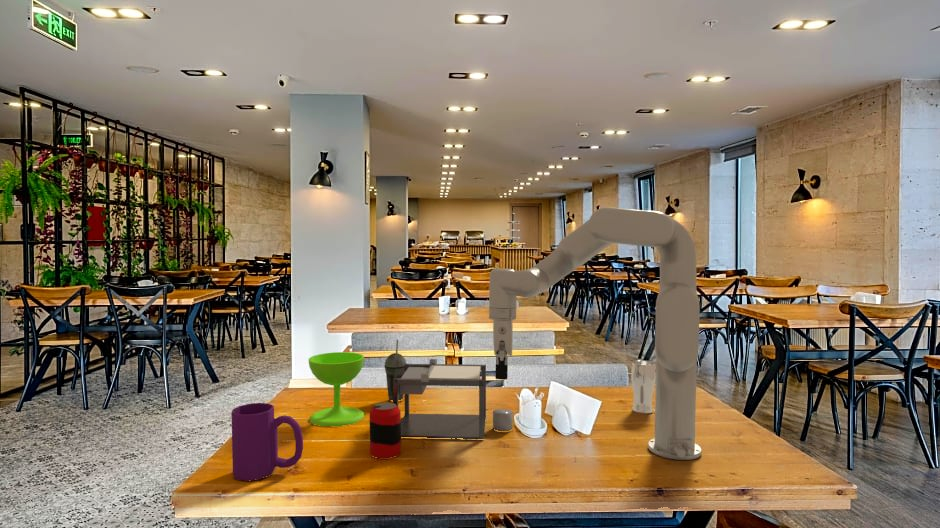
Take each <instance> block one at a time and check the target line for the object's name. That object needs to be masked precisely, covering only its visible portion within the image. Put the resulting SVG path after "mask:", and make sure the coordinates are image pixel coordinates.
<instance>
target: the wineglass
mask: <svg viewBox="0 0 940 528" xmlns="http://www.w3.org/2000/svg"><path fill="white" fill-rule="evenodd" d="M364 362H365V355H363V354H362V353H359V352H351V351H350V352H349V351H348V352H347V351H340V352H339V351H337V352H336V351H333V352H327V353H320V354H316V355H312V356H310V357H309V358H308V366H309V369H310V371H311V373H312V375H314V377H315V378H316V379H317V380H318V381H320V382H321V383H323V384H325V385H328V386H333V406H332V407H328V408H322V409H320V410H318V411H315V412H313V414H312V415H310V417H309V423H310V424H312V423H313V424H312V425H314V424H316V425H315V426H317V425H320V426H319V427H321V426H341V427H343V426H342V425H347V426H349V425H348V424H351V425H354V424H353V423H355V424H357V423H359V422H358V421H360V420H361V419H363V417H364V415H365V413H364V412H363V411H362V410H361V409H359V408H357V407H351V406H342V405H341V386H342V385H346V384H348V383H349V382H351V381H353V380H354V379H355V378H356V377H357V376H358V375H359V373H360V372H361V370H362V369H363V366H364ZM364 418H365V417H364ZM363 420H364V419H363ZM361 421H362V420H361ZM361 421H360V422H361ZM356 422H357V423H356Z"/></svg>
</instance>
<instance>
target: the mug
mask: <svg viewBox="0 0 940 528" xmlns="http://www.w3.org/2000/svg"><path fill="white" fill-rule="evenodd" d="M283 424H287V425H288V426H290V427H291V429H292V431H293V434H294V440H295V441H294V442H295V449H294V450H295V451H294V455H292V457H289V458H283V457H279V455H278V454H279V452H278V451H279V450H278V449H279V448H278V447H279V446H278V443H279V441H278V427H280V426H281V425H283ZM302 431H303V430H302V428H301V426H300V423H299V422H298V421H297V420H296V419H295V418H293V417H291V416H290V415H280V416H278V417H276V418H275V405H273V404H271V403H267V402H266V403H265V402H255V403H253V402H252V403H247V404H243V405H239V406H237V407H235V408H232V409H231V446H232V447H231V453H232V477H233V478H234V477H235V479H236V480H238V481H240V480H246V481H245V482H250V481H249V480H255V479H260V480H262V479H261V478H263V477H266V476H268V477H270V476H271V475H272V474H273V472H274V471H275V469H276V467H277V468H282V469H283V468H286V469H287V468H290V467H293V466H295V465H297V463H298V462H299V461H300V460H301V458H302V455H303V450H304V437H303V432H302ZM269 475H270V476H269ZM266 478H267V477H266ZM263 479H264V478H263ZM255 481H256V480H255Z"/></svg>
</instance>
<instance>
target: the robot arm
mask: <svg viewBox="0 0 940 528" xmlns="http://www.w3.org/2000/svg"><path fill="white" fill-rule="evenodd" d="M694 242H695V241H694V240H693V238H692V236H691V234H690V232H689V231H688V230H687V228H685V226H684V225H683V224H682V223H680V222H679V221H678V220H676V219H675V218H672V217H671V216H669V215H668V214H666V213H664V212H661V211H656V210H644V209H643V210H642V209H630V208H619V207H611V206H610V207H609V206H604V207H600V208H598V209H597V210H595V211H594V212H593V213H592V214H591V216H590V217H589V219H587V220H586V221H585V222H584V223H582V224H581V225H580V226H578V227H577V228H576V229H574V230H573V231H571V232H570V233H569V234H567V235H566V236H565V237H563V238H562V239H561V241H559V242H558V244H557V246H556V248H555V249H554V250H553V251H552V252H550V253H549V254H548V255H547V256H546V257H545V258H543V259H542V260H541V261H539V262H538V263H537V264H535V265H534V266H532V267H531V268H528V269H522V270H520V269H519V270H515V269H512V268H500V267H499V268H493V269H492V270H490V272H489V286H488V288H489V289H488V290H489V291H488V292H489V297H488V298H489V299H488V300H489V301H488V302H489V303H488V304H489V305H488V306H489V307H488V319H489V320H492V322H493V323H492V329H493V331H492V334H493V335H492V337H493V338H492V341H493V352H494V356H495V359H496V360H495V376H494V378H495V380H505V381H506V380H508V372H509V371H508V369H509V368H508V367H509V366H508V356H509V357H512V356H513V336H514V335H513V333H514V330H513V326H514V325H513V321H515V320H517V298H518V297H521V298H526V299H528V298H530V299H531V298H534V297H536V296H538V295H540V294H542V293H544V292H546V291H547V290H548V289H550V288H551V287H553V286H554V285H555V284H556V283H558V282H559V281H561V280H562V279H564V278H565V277H566V276H568V275H569V274H571V273H572V272H574V271H576V270H578V269H579V268H580V267H582V266H583V265H585V264H586V263H587V262H589V261H590V260H591V259H592V258H594V257H595V256H597V255H598V254H599V253H601V252H602V251H604V250H605V249H607V248H608V247H609V246H611V245H612V244H619V245H620V244H621V245H628V246H629V245H630V246H640V247H646V248H647V247H649V248H656V249H657V252H658V255H659V286H658V287H659V290H658V294H657V296H656V297H657V298H656V301H655V327H654V329H655V337H654V338H655V339H654V340H655V341H654V342H655V343H654V354H655V386H654V389H655V398H654V438H652V439H650V440H649V441H648V443H647V449H649V450H650V452H652V453H653V454H655V455H657V456H658V457H659V456H660V457H662V458H665V459H670V460H676V461H677V460H679V461H690V460H695V459H698V458H699V457H701V455H702V447H701V446H700V445H699V444H697V443H696V410H697V409H696V407H697V405H696V403H697V402H696V401H697V396H696V395H697V373H698V372H697V368H698V367H697V362H698V361H697V360H698V356H699V346H700V345H699V343H700V316H701V315H700V314H701V313H700V312H701V311H700V310H701V309H700V299H699V296H698V293H697V252H696V246H695V243H694Z"/></svg>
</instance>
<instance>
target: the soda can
mask: <svg viewBox="0 0 940 528" xmlns="http://www.w3.org/2000/svg"><path fill="white" fill-rule="evenodd" d="M401 413H402V412H401V409H400V407H399V408H398V407H397V405H396V404H394V403H393V402H380V403H376V404H374V405H373V406H372V408H371V409H370V410H369V454H371V455H372V456H374V457H377V458H390V457H394V456H397V455H398V454H399V455H400V454H401V452H402V447H401V446H402V439H401V421H402V419H401ZM371 455H370V456H371ZM399 455H398V456H399ZM372 456H371V457H372ZM398 456H397V457H398ZM374 457H373V458H374ZM394 458H395V457H394Z"/></svg>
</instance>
